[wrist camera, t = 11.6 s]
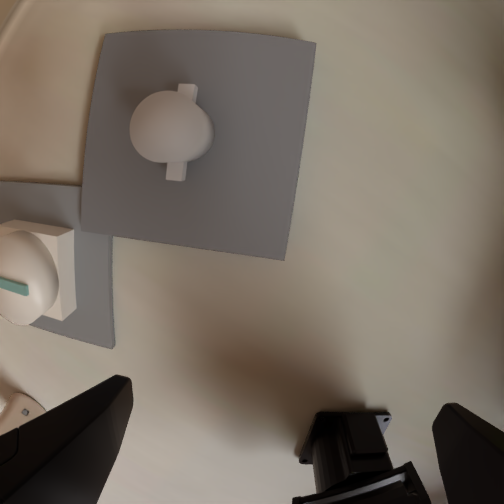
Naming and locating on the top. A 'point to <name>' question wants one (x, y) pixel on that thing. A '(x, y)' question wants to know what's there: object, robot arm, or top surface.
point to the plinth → (238, 158)
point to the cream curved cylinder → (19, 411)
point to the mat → (85, 257)
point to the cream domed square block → (36, 271)
